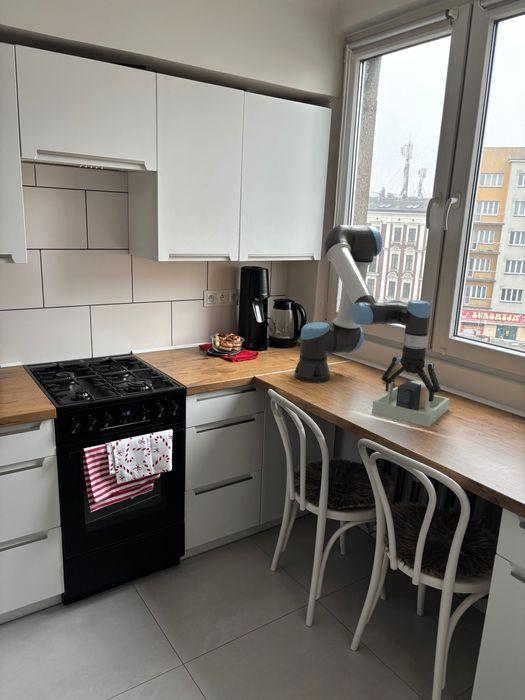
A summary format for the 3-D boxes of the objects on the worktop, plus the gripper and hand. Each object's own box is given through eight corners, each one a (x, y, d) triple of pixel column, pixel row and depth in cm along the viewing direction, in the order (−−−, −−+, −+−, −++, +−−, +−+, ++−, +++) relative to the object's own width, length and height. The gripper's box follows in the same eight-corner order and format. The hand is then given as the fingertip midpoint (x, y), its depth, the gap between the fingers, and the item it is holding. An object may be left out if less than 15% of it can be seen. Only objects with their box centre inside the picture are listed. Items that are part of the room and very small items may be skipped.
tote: (371, 414, 187) (373, 401, 186) (395, 399, 205) (396, 386, 204) (428, 429, 176) (429, 415, 175) (447, 411, 194) (449, 398, 193)
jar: (404, 406, 195) (407, 383, 193) (411, 401, 200) (413, 379, 198) (422, 410, 191) (425, 387, 189) (428, 406, 196) (431, 383, 194)
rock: (397, 386, 213) (408, 378, 220) (386, 368, 214) (398, 360, 221) (377, 396, 221) (389, 387, 228) (367, 378, 222) (378, 370, 229)
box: (403, 409, 192) (406, 381, 190) (418, 413, 189) (422, 384, 186) (394, 414, 186) (397, 385, 183) (409, 418, 183) (413, 389, 180)
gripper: (375, 341, 185) (370, 399, 190) (448, 354, 171) (440, 416, 177) (384, 338, 191) (378, 394, 196) (455, 350, 177) (446, 410, 183)
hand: (407, 405), depth 186 cm, fingers open, 13 cm apart
